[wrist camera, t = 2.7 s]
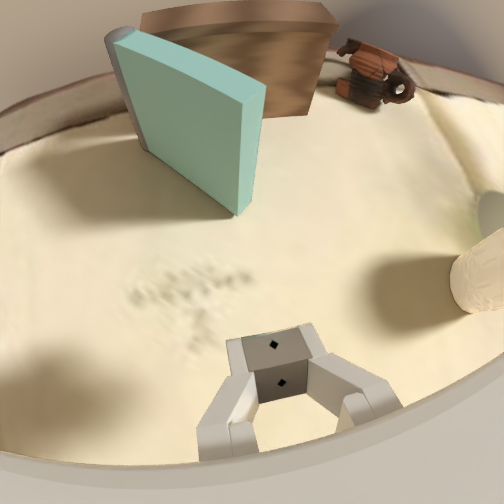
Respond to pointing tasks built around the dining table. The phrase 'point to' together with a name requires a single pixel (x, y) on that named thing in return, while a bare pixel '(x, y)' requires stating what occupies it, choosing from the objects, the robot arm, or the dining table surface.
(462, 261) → the white cup
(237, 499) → the robot arm
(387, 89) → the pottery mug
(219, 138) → the teal square slab
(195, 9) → the wooden board
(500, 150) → the dining table surface
